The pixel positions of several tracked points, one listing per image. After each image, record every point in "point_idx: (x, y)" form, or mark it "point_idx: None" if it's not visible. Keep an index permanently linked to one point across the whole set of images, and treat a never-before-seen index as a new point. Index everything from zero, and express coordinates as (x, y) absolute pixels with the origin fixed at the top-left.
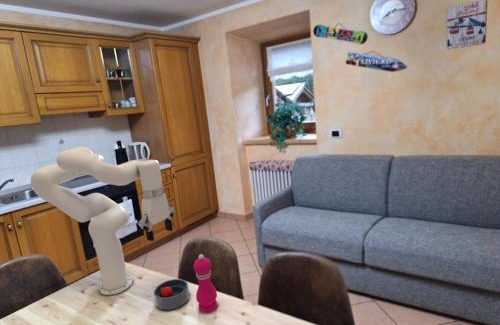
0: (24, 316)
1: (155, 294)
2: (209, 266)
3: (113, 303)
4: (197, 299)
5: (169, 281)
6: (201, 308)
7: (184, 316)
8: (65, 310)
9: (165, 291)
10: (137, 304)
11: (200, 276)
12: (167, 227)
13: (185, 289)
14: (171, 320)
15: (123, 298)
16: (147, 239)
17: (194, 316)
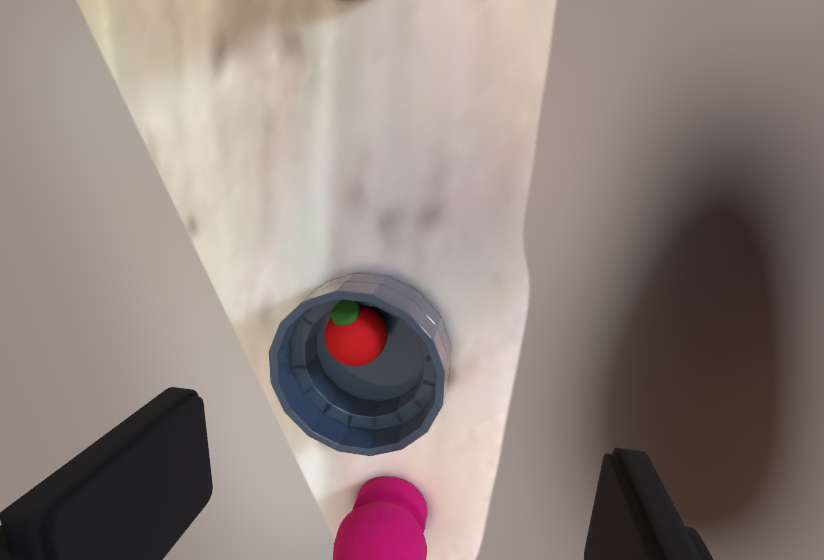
0: None
1: (281, 333)
2: None
3: (231, 50)
4: (337, 532)
5: (409, 323)
6: (353, 509)
7: (312, 448)
8: None
9: (332, 355)
10: (282, 196)
11: None
12: (612, 541)
13: (374, 452)
14: (275, 415)
15: (283, 68)
16: (168, 398)
17: (328, 481)
